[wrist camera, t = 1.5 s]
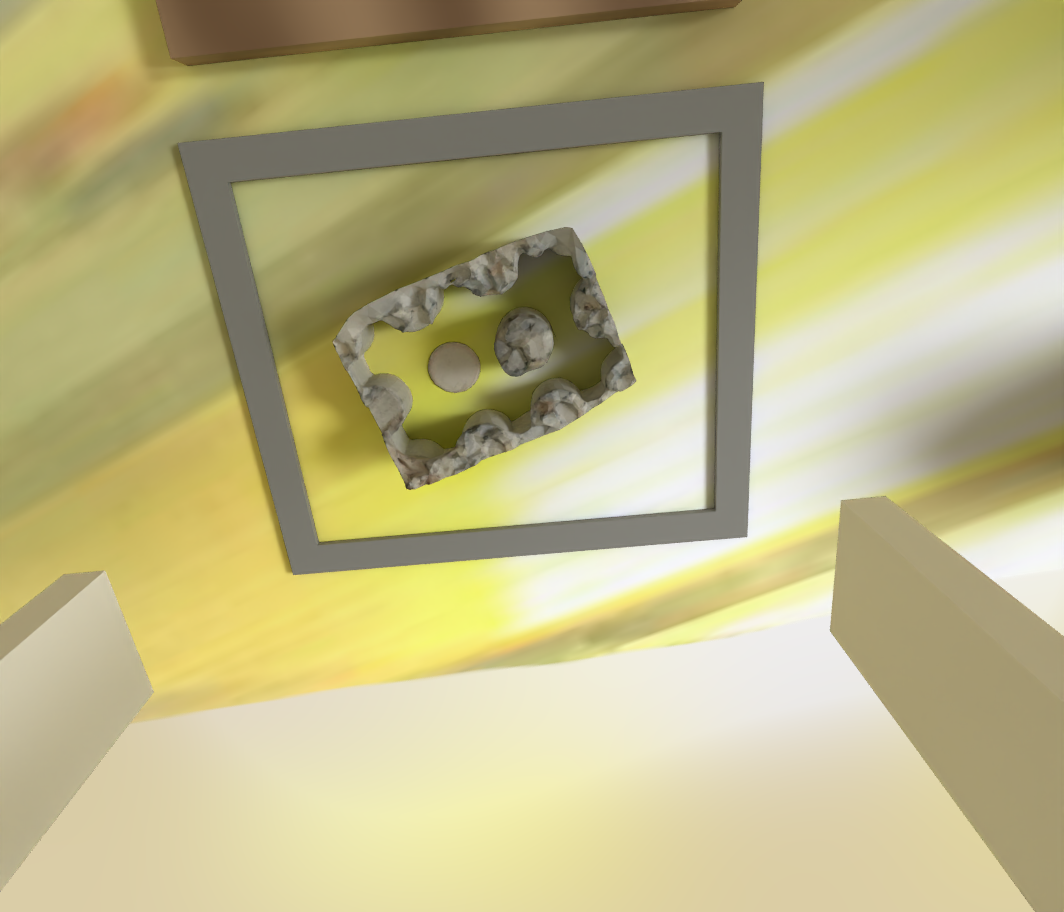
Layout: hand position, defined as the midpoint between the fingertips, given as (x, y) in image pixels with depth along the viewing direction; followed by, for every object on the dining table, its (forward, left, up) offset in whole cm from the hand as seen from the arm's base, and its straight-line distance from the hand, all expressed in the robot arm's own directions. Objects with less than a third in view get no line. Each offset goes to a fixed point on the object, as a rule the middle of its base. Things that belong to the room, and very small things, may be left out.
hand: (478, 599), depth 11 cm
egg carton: (+1, -1, -18) cm, 18 cm away
